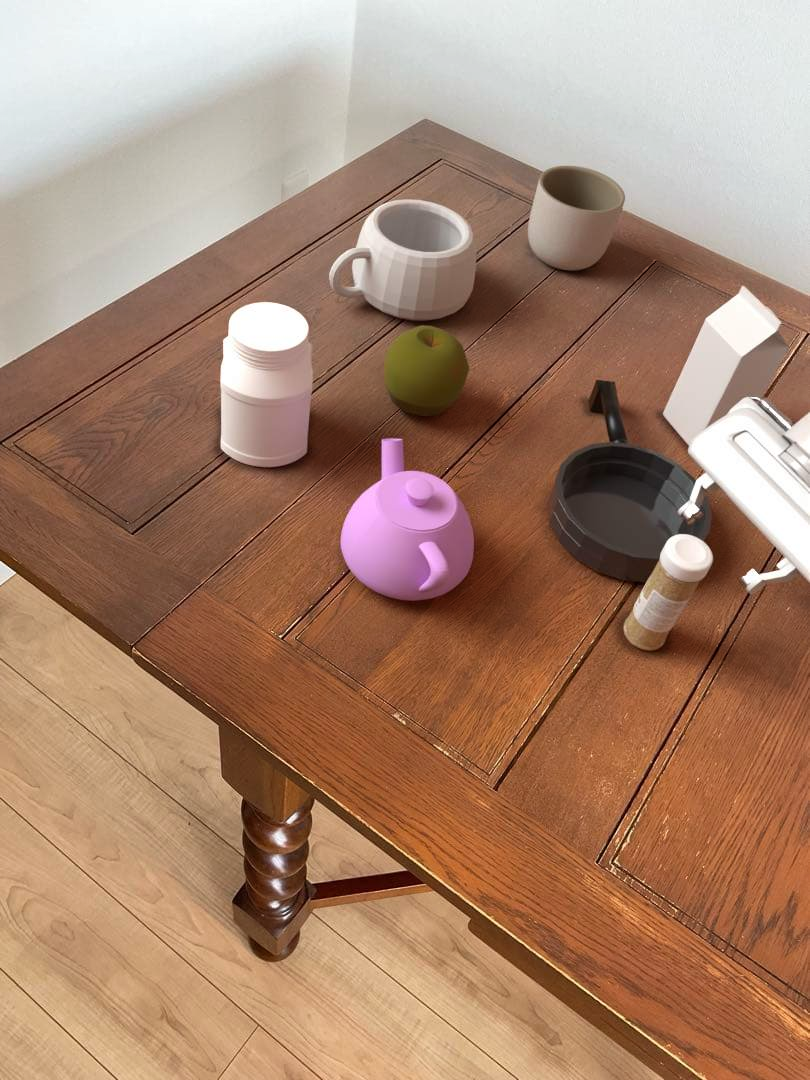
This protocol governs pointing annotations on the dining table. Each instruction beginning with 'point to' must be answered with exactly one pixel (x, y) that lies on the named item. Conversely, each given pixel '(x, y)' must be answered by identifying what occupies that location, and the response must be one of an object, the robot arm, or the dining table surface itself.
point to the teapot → (407, 533)
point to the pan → (621, 508)
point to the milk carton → (726, 364)
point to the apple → (425, 370)
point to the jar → (266, 385)
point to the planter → (573, 216)
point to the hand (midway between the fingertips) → (713, 552)
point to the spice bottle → (667, 591)
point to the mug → (411, 261)
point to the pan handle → (608, 409)
